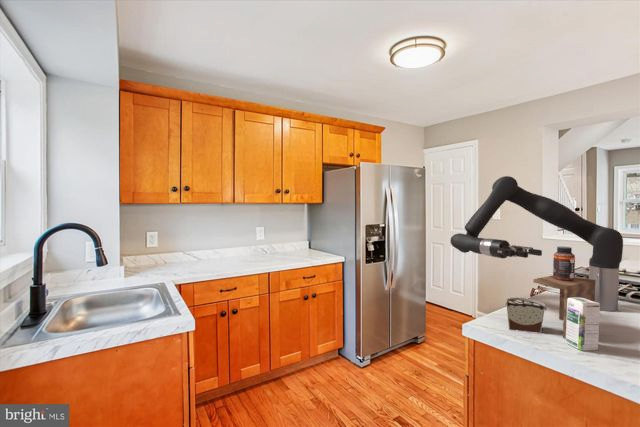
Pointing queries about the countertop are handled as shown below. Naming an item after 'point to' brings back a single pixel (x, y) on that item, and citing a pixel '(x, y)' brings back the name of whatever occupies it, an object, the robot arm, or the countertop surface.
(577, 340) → the syrup box
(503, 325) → the countertop surface
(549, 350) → the countertop surface
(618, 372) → the countertop surface
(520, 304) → the food container
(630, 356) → the countertop surface
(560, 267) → the supplement bottle
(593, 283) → the walnut cubby
